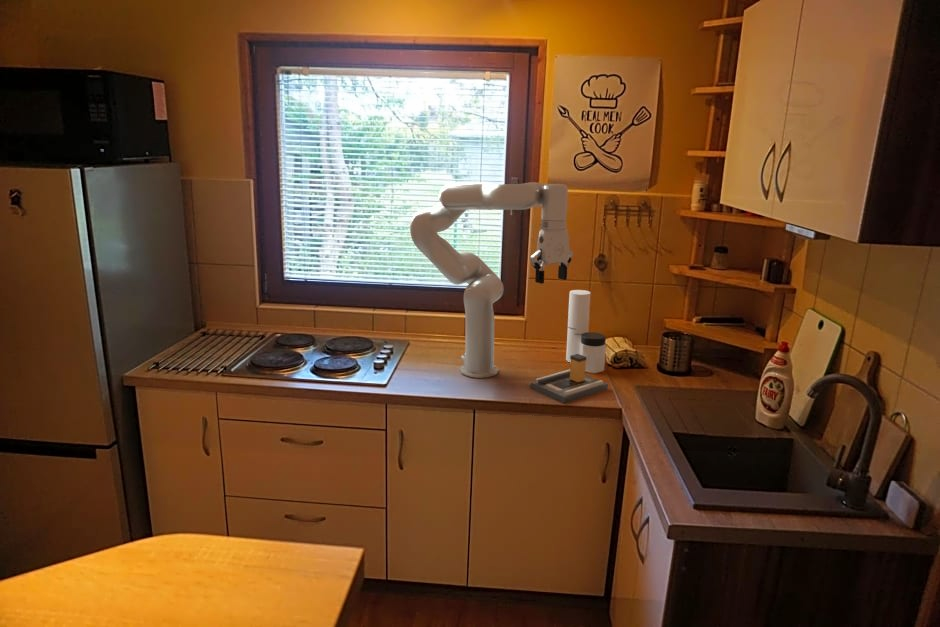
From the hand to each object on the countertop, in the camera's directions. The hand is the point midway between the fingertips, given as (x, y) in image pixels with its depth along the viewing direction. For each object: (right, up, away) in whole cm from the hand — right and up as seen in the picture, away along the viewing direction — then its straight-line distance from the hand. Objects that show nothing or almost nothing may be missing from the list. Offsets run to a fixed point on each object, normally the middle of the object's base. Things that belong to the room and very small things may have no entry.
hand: (551, 281), depth 195 cm
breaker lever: (+9, -31, +4) cm, 33 cm away
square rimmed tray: (+6, -32, +2) cm, 32 cm away
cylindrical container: (+13, -27, +29) cm, 42 cm away
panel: (+6, -34, +3) cm, 34 cm away
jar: (+16, -29, +21) cm, 40 cm away
